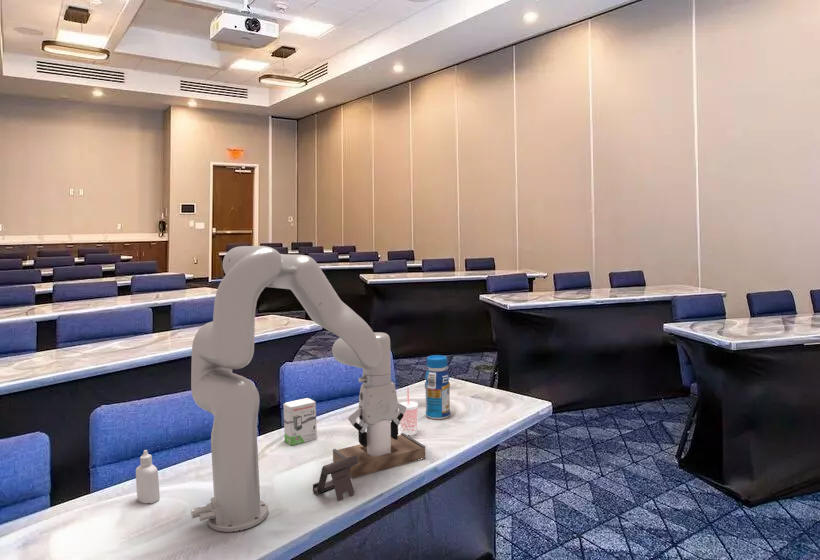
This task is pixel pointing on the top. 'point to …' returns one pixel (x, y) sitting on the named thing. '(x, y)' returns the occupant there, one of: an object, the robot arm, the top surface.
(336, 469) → the portable electronic device stand
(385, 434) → the can
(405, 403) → the beverage cup
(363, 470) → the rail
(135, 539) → the top surface
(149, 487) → the eye dropper bottle
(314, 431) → the ink box
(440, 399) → the beverage bottle
